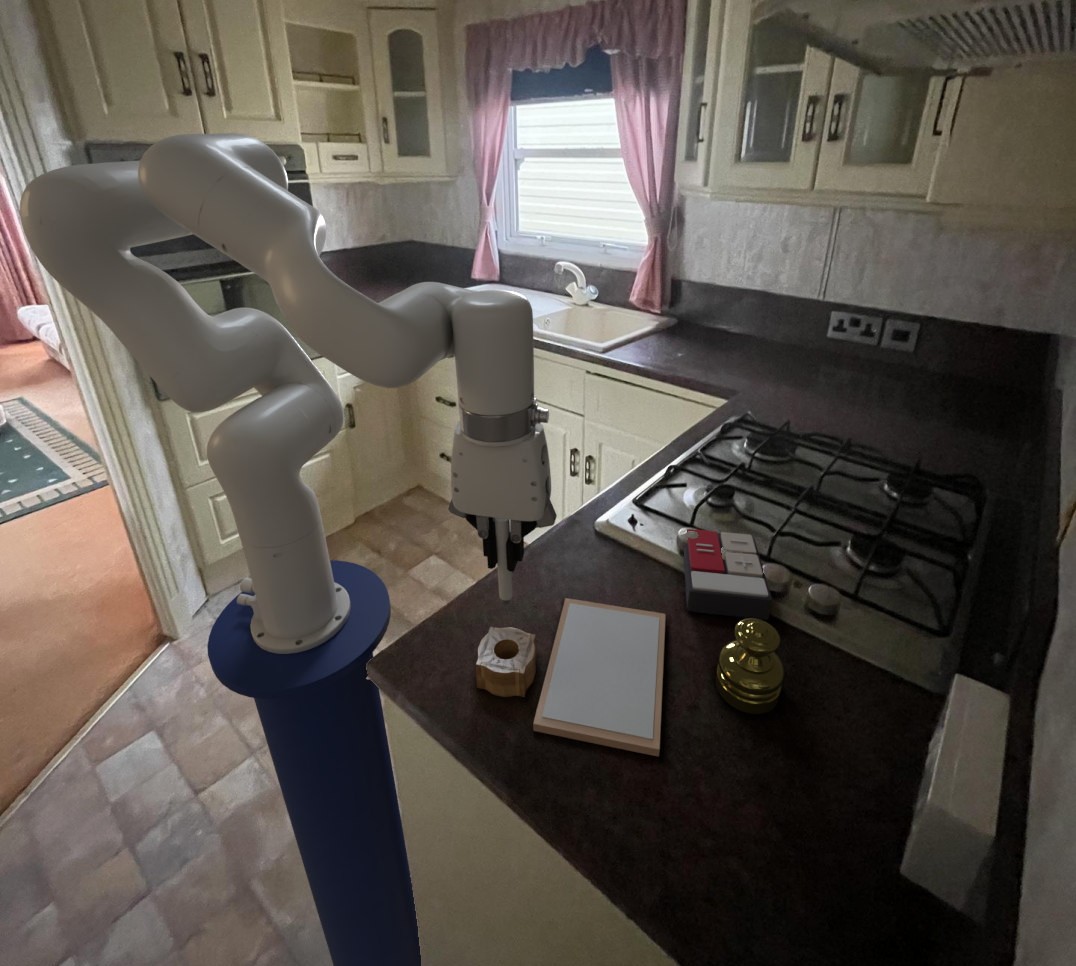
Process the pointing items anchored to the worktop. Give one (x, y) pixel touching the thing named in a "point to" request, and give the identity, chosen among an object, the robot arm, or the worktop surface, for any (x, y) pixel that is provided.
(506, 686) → the holder
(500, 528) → the stylus
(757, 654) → the brass weight
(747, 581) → the calculator
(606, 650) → the small whiteboard
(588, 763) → the worktop surface
